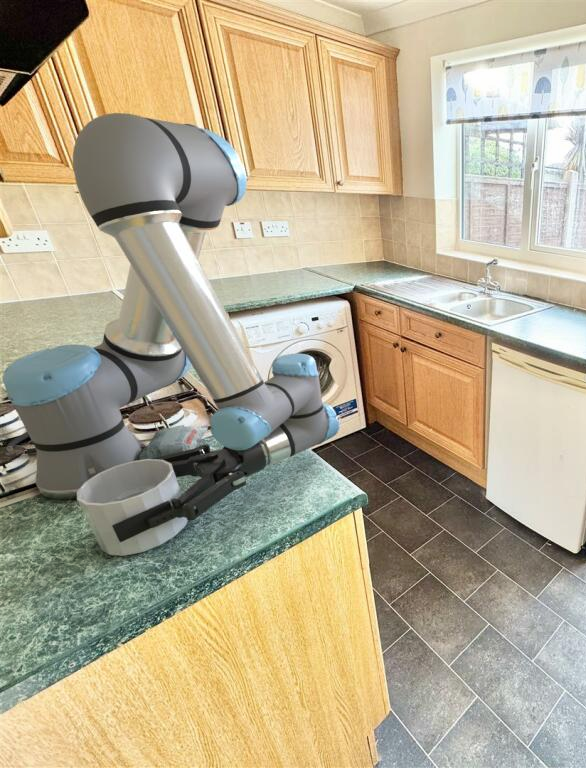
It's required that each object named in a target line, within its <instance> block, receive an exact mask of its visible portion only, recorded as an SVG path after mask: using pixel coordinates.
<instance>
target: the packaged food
mask: <svg viewBox="0 0 586 768" xmlns="http://www.w3.org/2000/svg"><path fill="white" fill-rule="evenodd" d="M207 430H209V426H208V425H202V426H199V427H198V426H185V425H184V424H180V425H177V426H172V427H168V428H164V429H159V430H157V431H156V432H154V434H153V437H152V438H151V440H150V441H149V443H148V444H147V446H146V448H145V449H144V451H143V452H142V453H141V454H140V457H139V460H145V459H152V458H156V457H160V456H165V455H169V454H173V453H177V452H182V451H186V450H190V449H194V448H197V447H198V444H199V442H200V441H201V440H202V438H203V437H204V436H205V433H206V432H207Z"/></svg>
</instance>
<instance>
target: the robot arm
mask: <svg viewBox="0 0 586 768" xmlns="http://www.w3.org/2000/svg"><path fill="white" fill-rule="evenodd" d="M72 168H73V173H74V178H75V179H74V180H75V184H76V186H77V190H78V192H79V195H80V198H81V201H82V202H83V205H84V206H85V208H86V211H87V212H88V214H89V216H90V218H92V220H93V222H94V224H95V226H96V227H97V229H98V230H99V232H101V233H104V234H106V235H109V236H110V237H113V238H114V239H115V241H116V242H117V244H118V245H119V247H120V249H121V251H122V252H123V255H125V257H126V259H127V260H128V262H129V264H130V265H129V270H128V275H127V279H126V284H125V288H124V293H123V298H122V302H121V309H120V313H119V317H118V318H116V319H113V320H111V321H110V322H108V323H107V324H106V325H105V328H104V332H103V339H102V342H101V343H100V344H98V345H95V346H90V345H86V344H67V345H66V344H64V345H58V346H56V347H54V348H44V349H41V350H38V351H34V352H31V353H29V354H26V355H24V356H22V357H20V358H18V359H16V360H15V361H13V362H11V363H10V364H9V365H8V366H7V367H6V368H5V370H4V371H3V375H2V382H3V386H4V387H5V391H6V393H7V394H6V396H7V399H8V400H9V402H10V403H11V404H13V407H14V409H15V410H16V412H17V414H18V416H19V418H20V420H21V422H22V424H23V426H24V428H25V430H26V432H24V433H22V434H21V435H18V436H17V437H16V438H14V439H12V440H11V441H9V442H8V443H7V444H6V446H14V447H16V446H17V445H18V444H19V443H21V442H23V441H24V440H26V439H27V438H30V440H31V442H32V444H33V446H34V447H31V448H30V447H29V448H25V449H26V450H27V451H25V454H24V455H29V454H36V475H35V485H36V487H37V489H38V491H39V493H40V494H41V495H42V496H44V497H46V498H49V499H55V500H71V499H72V500H73V499H77V491H78V490H79V489H80V487H81V486H82V485H83V484H84V483H85V482H86V481H88V480H89V479H91V478H92V477H94V476H95V475H97V474H98V473H101V472H103V471H105V470H107V469H110V468H112V467H114V466H117V465H121V464H125V463H128V462H132V461H138V460H139V457H140V454H141V453H142V452H143V451H144V449H145V448H146V447H147V446H146V445H145V444H144V443H143V442H142V441H141V440H140V439H139V438H138V437H137V436H136V435H135V434H134V433H133V432H132V430H130V429H129V428H128V427H127V426H126V424H125V421H124V419H123V415H122V413H121V408H123V407H125V406H127V405H129V404H132V403H134V402H135V401H137V400H140V399H142V398H144V397H146V396H148V395H151V394H153V393H155V392H157V391H160V390H162V389H163V388H167V387H169V386H172V385H173V384H174V383H176V382H177V381H179V380H180V379H182V378H183V377H184V376H185V375H186V374H187V373H188V372H189V370H190V367H191V366H192V368H193V369H194V371H195V372H196V374H197V376H198V377H199V379H200V381H201V382H202V384H203V385H204V387H205V389H206V391H207V392H208V394H209V395H210V397H211V399H212V401H213V402H214V405H215V407H216V408H217V410H216V411H215V412H214V413H213V415H211V417H210V419H209V426H210V429H209V430H210V433H211V435H212V436H213V439H214V440H216V442H217V443H219V445H221V446H223V447H222V448H221V449H217V450H212V449H211V446H210V444H208V443H205V444H202V445H200V446H196V448H194V449H190V450H186V451H182V452H177V453H173V454H169V455H165V456H160V457H156V458H152V459H159V460H164V461H167V462H169V463H171V464H172V467H173V470H174V473H175V476H176V478H179V477H186V476H190V477H194V478H195V477H199V479H198V480H196V481H195V482H194V483H193V484H192V485H191V486H190V487H189V488H187V489H186V491H184V492H183V493H182V495H181V496H180V497H179V498H178V499H171V502H172V505H173V506H171V504H170V502H169V501H166V502H164V503H162V504H159V505H157V506H155V507H153V508H150V509H148V510H146V511H144V512H141V513H139V514H137V515H135V516H132V517H130V518H128V519H125V520H123V521H121V522H119V523H116V524H114V525H112V527H113V529H114V531H115V533H116V535H117V538H118V540H119V541H120V543H121V542H123V541H125V540H127V539H129V538H131V537H133V536H135V535H138V534H140V533H142V532H144V531H146V530H148V529H150V528H154V527H157V526H159V525H161V524H163V523H165V522H168V521H170V520H172V519H174V518H176V517H177V518H182V517H185V518H187V520H188V521H187V522H192V521H194V520H196V519H197V518H199V517H200V516H201V515H203V514H205V512H207V511H208V510H209V509H211V508H212V507H214V506H215V505H216V504H218V503H219V502H220V501H222V500H223V499H224V498H226V497H227V496H228V495H230V494H231V493H232V492H234V491H236V490H238V489H240V488H243V487H245V486H246V485H247V480H246V478H248V477H250V476H253V475H254V474H256V473H259V472H261V471H263V470H265V468H266V467H271V466H273V465H275V464H277V463H280V462H282V461H284V460H286V459H289V458H291V457H293V456H295V455H298V454H300V453H302V452H305V451H307V450H309V449H311V448H313V447H315V446H318V445H321V444H323V443H324V442H326V441H328V440H330V439H332V438H333V437H335V436H336V435H337V434H338V432H339V430H340V419H339V418H338V416H337V413H336V411H335V409H334V408H333V407H332V406H331V405H330V404H328V403H323V396H322V389H321V383H320V373H319V371H318V367H317V363H316V360H315V358H314V357H313V356H311V355H309V354H306V353H288V354H283V355H280V356H278V357H276V358H275V359H274V360H273V361H272V363H271V373H272V377H270V378H268V379H267V380H265V381H264V379H263V378H262V376H261V374H260V372H259V371H258V369H257V367H256V365H255V363H254V361H253V360H252V358H251V356H250V354H249V352H248V350H247V348H246V347H245V345H244V343H243V341H242V339H241V336H240V335H239V333H238V332H237V330H236V328H235V326H234V323H233V322H232V320H231V318H230V316H229V314H228V313H227V311H226V309H225V307H224V306H223V304H222V302H221V299H220V297H219V296H218V294H217V291H216V290H215V289H214V287H213V285H212V283H211V281H210V279H209V278H208V275H207V274H206V272H205V269H204V268H203V266H202V265H201V262H200V261H199V257H200V253H201V251H202V247H203V243H204V239H205V236H206V232H208V231H212V230H216V229H217V228H219V227H220V224H221V221H222V218H223V214H224V211H225V207H231V206H234V205H235V204H237V203H239V202H240V201H241V200H242V199H243V198H244V196H245V194H246V191H247V185H248V181H247V180H248V179H247V172H246V170H245V166H244V164H243V163H242V161H241V159H240V155H239V154H238V152H237V151H236V150H235V148H234V147H233V145H232V144H230V143H229V142H228V141H227V139H225V138H223V137H222V136H221V135H219V134H218V133H216V132H215V131H212V130H209V129H205V128H202V127H199V126H197V125H194V124H191V123H180V122H179V123H177V122H172V121H166V120H162V119H155V118H149V117H144V116H140V115H137V114H133V113H126V112H125V113H124V112H114V113H112V112H111V113H106V114H103V115H100V116H96V117H95V118H93V119H92V120H90V121H88V122H87V123H86V124H85V125H84V126H83V127H82V129H80V131H79V132H78V135H77V137H76V139H75V141H74V146H73V152H72ZM173 500H174V501H173Z"/></svg>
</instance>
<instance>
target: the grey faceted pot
mask: <svg viewBox="0 0 586 768" xmlns="http://www.w3.org/2000/svg"><path fill="white" fill-rule="evenodd" d="M182 494H183V493H182V491H181V487H180V484H179V482H178V478H177V477H176V476H175V473H174V470H173V467H172V464H171V463H169V462H167V461H164V460H159V459H145V460H138V461H132V462H128V463H125V464H121V465H117V466H114V467H112V468H110V469H107V470H105V471H103V472H101V473H98V474H97V475H95V476H94V477H92V478H91V479H89V480H88V481H86V482H85V483H84V484H83V485H82V486H81V487H80V489H79V490H78V491H77V498H76V500H77V503H78V504H79V506H80V509H81V511H82V513H83V515H84V517H85V519H86V522H87V523H88V525H89V528H90V530H91V531H92V534H93V535H94V538H95V540H96V542H97V544H98V546H99V548H100V550H101V551H103V552H104V553H106V554H108V555H110V556H120V557H124V556H129V555H135V554H141V553H145V552H146V551H149V550H152V549H154V548H156V547H159V546H161V545H164V544H165V543H166V542H167V541H170V540H171V539H173V538H175V537H176V535H178V534H179V533H180V532H181V531H182V530H183V529H185V527H186V526H187V523H188V522H189V521H188V520H187V518H185V517H182V518H177V517H176V518H174V519H172V520H170V521H168V522H165V523H163V524H161V525H159V526H157V527H154V528H150V529H148V530H146V531H144V532H142V533H140V534H138V535H135V536H133V537H131V538H129V539H127V540H125V541H123V542H121V543H120V541H119V540H118V538H117V535H116V533H115V531H114V529H113V527H112V525H114V524H116V523H119V522H121V521H123V520H125V519H128V518H130V517H132V516H135V515H137V514H139V513H141V512H144V511H146V510H148V509H150V508H153V507H155V506H157V505H159V504H162V503H164V502H166V501H169V502H170V504H171V506H173V505H172V502H171V499H178V498H179V497H180V496H181V495H182ZM173 501H174V500H173Z"/></svg>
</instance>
